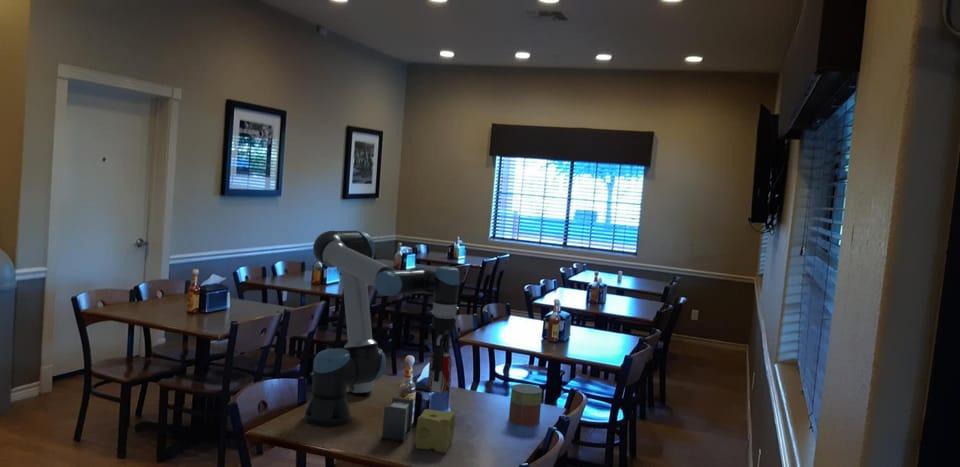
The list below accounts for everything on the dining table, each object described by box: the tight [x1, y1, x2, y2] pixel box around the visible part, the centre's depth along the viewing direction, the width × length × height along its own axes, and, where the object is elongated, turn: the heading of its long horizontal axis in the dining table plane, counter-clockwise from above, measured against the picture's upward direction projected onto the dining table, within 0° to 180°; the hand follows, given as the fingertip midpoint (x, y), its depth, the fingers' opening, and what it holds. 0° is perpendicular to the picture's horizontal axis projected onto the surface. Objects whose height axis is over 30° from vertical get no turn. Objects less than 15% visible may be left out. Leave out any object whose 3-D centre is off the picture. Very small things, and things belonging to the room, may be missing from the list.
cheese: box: [415, 408, 456, 454], centre depth 219 cm, size 10×11×10 cm
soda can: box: [427, 351, 453, 394], centre depth 218 cm, size 7×7×12 cm
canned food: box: [508, 383, 544, 428], centre depth 249 cm, size 11×11×12 cm
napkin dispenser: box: [381, 396, 414, 444], centre depth 224 cm, size 10×7×11 cm
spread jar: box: [347, 381, 375, 397], centre depth 264 cm, size 12×11×12 cm
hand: (438, 387), depth 218 cm, fingers closed on soda can, 7 cm apart
